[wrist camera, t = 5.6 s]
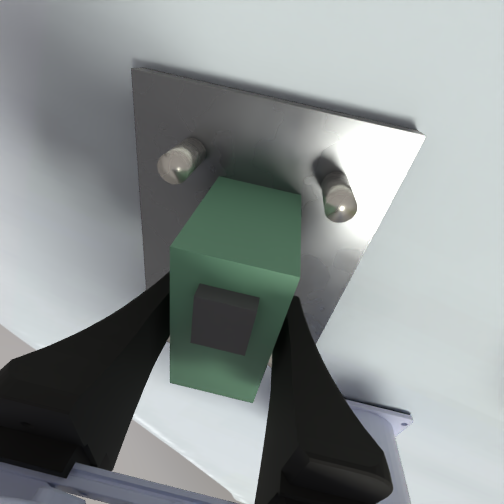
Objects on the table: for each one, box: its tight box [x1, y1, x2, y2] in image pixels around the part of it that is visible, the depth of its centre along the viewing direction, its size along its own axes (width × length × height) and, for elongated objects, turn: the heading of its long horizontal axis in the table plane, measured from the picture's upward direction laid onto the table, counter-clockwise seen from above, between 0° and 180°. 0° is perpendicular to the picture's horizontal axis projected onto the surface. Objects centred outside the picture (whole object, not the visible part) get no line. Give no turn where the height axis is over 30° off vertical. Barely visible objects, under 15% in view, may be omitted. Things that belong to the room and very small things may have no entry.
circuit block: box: [170, 176, 301, 403], centre depth 13 cm, size 8×4×7 cm, turn 170°
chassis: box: [131, 68, 426, 367], centre depth 15 cm, size 16×12×4 cm
